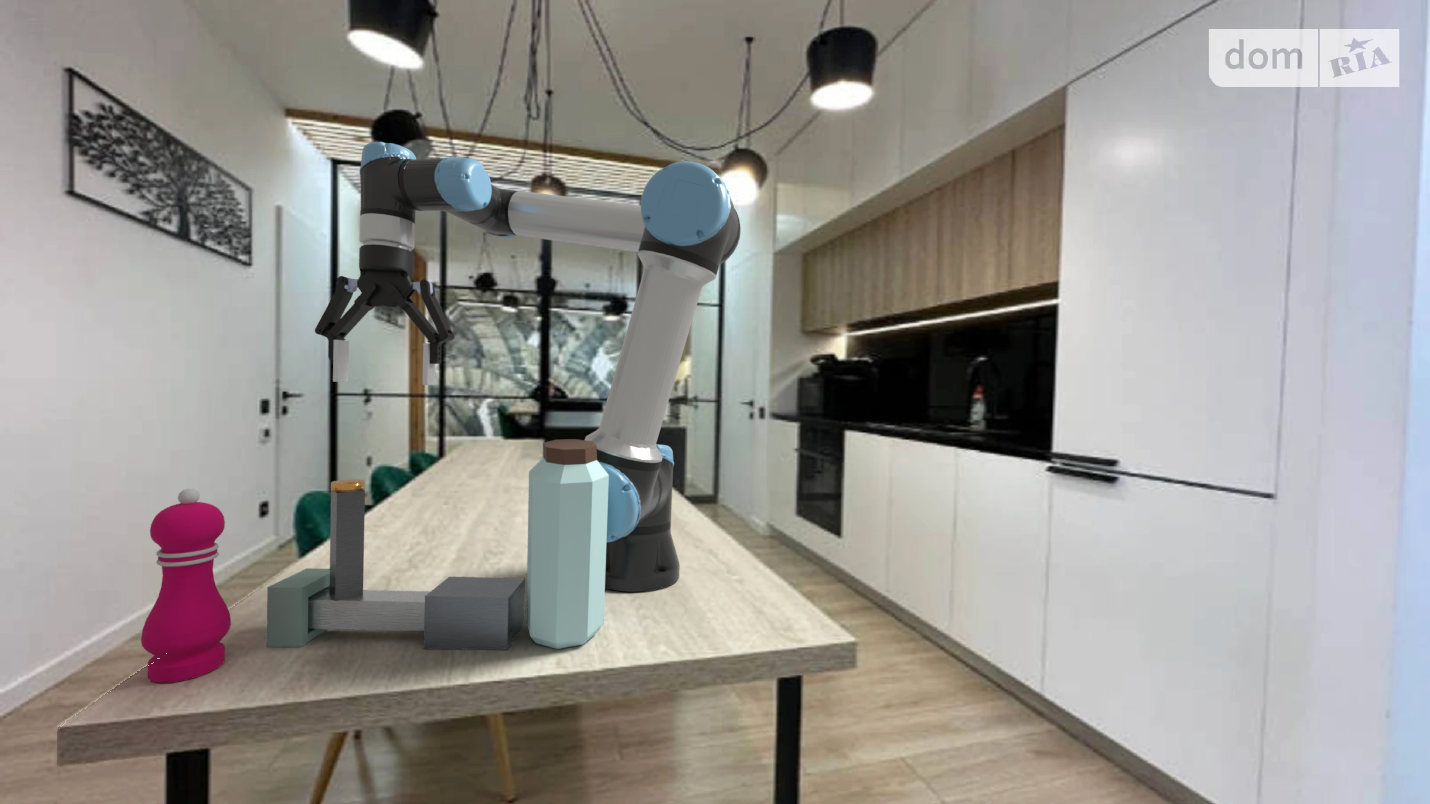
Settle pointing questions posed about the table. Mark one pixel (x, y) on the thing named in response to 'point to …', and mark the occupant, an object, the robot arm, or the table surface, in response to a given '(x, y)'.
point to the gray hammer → (358, 576)
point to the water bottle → (566, 544)
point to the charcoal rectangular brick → (474, 613)
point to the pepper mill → (186, 593)
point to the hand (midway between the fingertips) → (384, 383)
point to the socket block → (293, 608)
